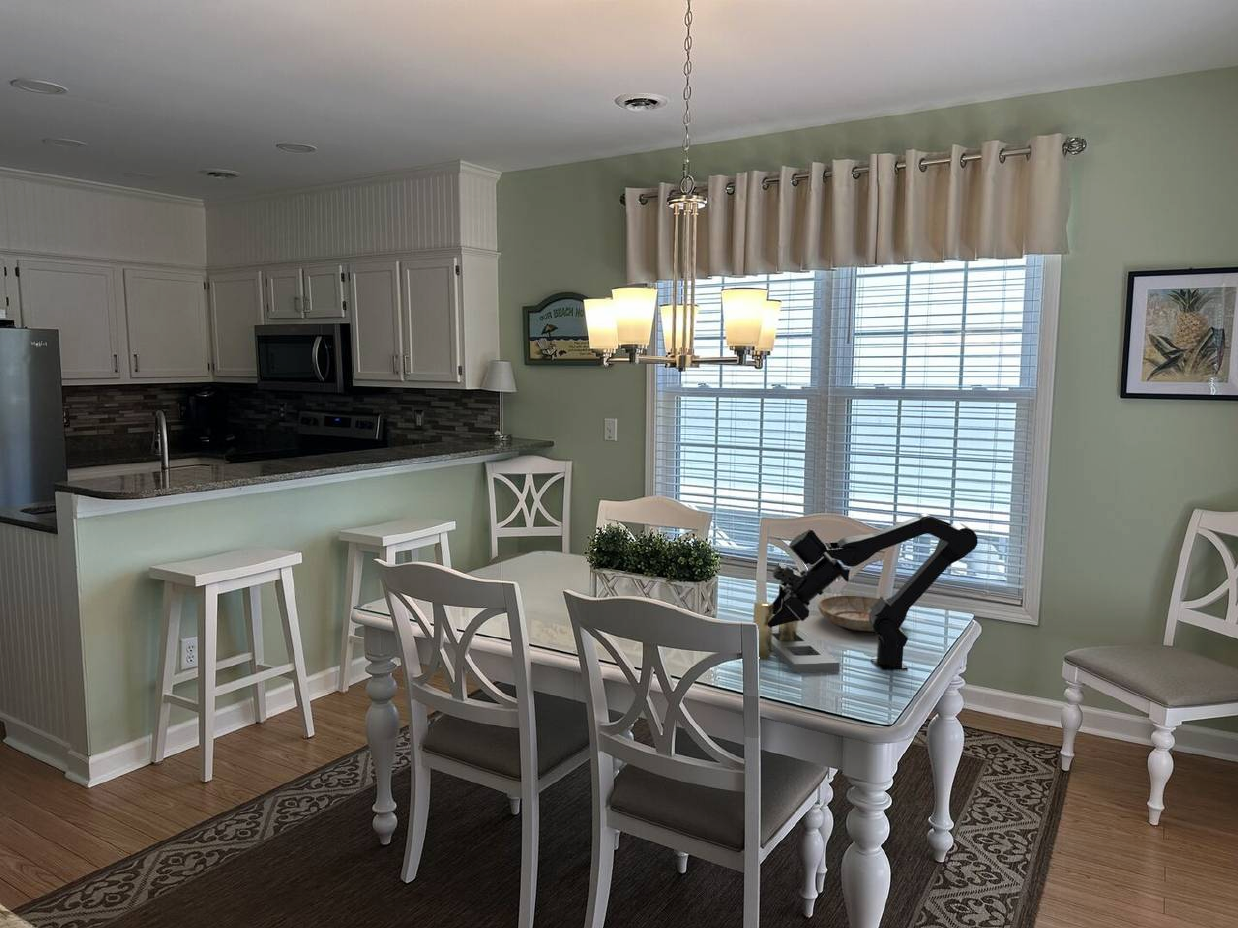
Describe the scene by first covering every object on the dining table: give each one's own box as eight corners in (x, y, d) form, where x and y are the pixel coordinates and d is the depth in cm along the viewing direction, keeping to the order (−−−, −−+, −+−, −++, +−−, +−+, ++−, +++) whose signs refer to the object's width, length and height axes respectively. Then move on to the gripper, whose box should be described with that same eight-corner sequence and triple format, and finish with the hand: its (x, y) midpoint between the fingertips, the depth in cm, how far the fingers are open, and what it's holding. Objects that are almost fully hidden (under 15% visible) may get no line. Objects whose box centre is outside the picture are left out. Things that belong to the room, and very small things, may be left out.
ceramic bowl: (799, 617, 238) (800, 600, 238) (863, 608, 249) (864, 591, 248) (858, 643, 218) (859, 624, 217) (924, 631, 229) (926, 613, 228)
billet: (798, 647, 213) (801, 596, 211) (781, 648, 212) (784, 597, 210) (792, 641, 217) (794, 591, 215) (775, 642, 216) (777, 592, 215)
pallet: (839, 670, 197) (839, 662, 197) (794, 672, 195) (794, 664, 195) (799, 637, 221) (799, 629, 221) (758, 638, 219) (759, 630, 219)
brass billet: (773, 659, 204) (776, 606, 202) (755, 660, 203) (757, 607, 201) (766, 653, 208) (769, 601, 206) (749, 653, 207) (751, 601, 206)
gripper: (792, 544, 211) (744, 585, 213) (797, 562, 192) (745, 606, 195) (822, 578, 211) (774, 618, 213) (830, 598, 192) (778, 642, 195)
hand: (767, 620), depth 204 cm, fingers open, 8 cm apart
